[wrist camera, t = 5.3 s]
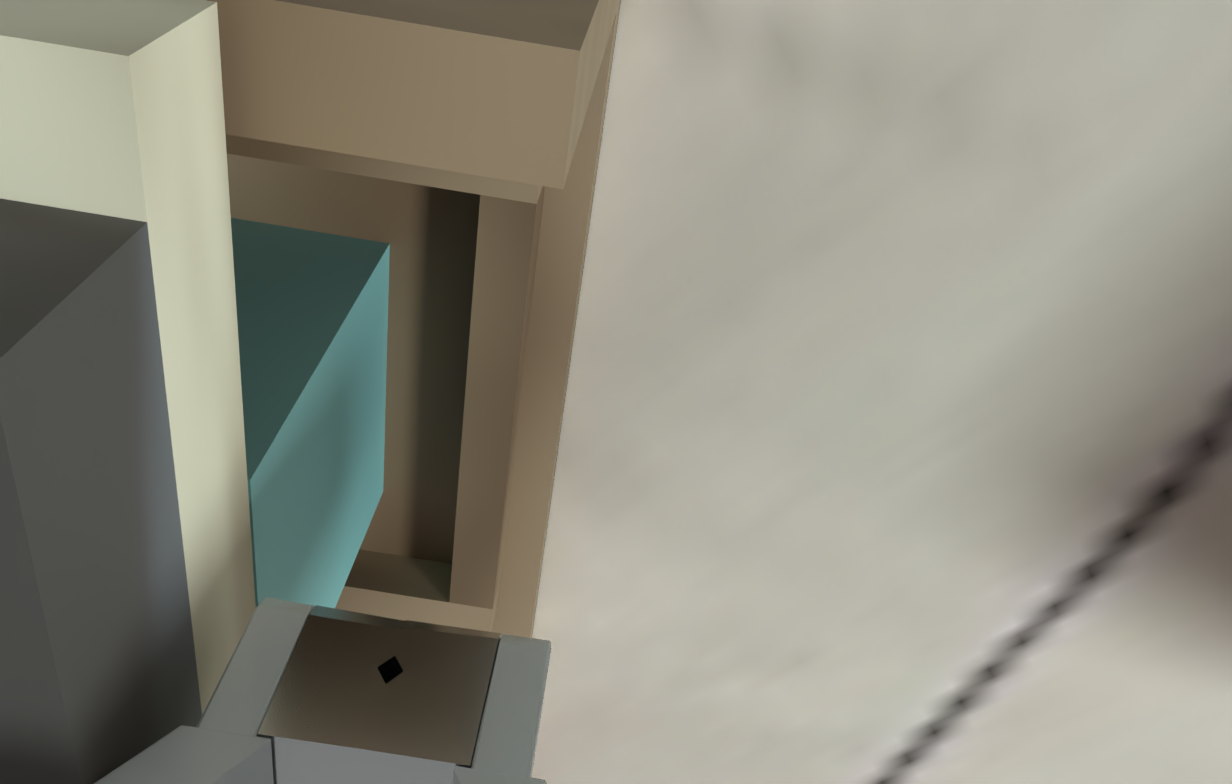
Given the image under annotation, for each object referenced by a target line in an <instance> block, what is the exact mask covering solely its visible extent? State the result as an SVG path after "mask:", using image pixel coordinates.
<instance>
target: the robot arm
mask: <svg viewBox="0 0 1232 784" xmlns="http://www.w3.org/2000/svg"><path fill="white" fill-rule="evenodd" d="M550 653H551V642H550V641H547V640H541V639H534V638H527V637H520V636H513V635H506V634H502V637H501V633H495V632H488V631H481V630H474V629H467V628H459V627H452V626H445V625H438V624H431V623H424V622H417V621H410V620H406V621H403V620H397V619H391V618H386V617H380V616H375V615H369V614H363V613H358V612H352V611H347V610H341V609H335V608H330V607H324V606H318V605H316V606H314V605H309V604H303V603H297V602H291V601H286V600H280V599H274V598H268V597H266V598H265V599H264V600H263V601H262V602H261V603H260V604H259V605H258V606H257V607H256V608H255V610H254V612H253V614H252V616H251V618H250V620H249V622H248V624H247V626H246V628H245V630H244V632H243V634H242V636H241V638H240V640H239V642H238V644H237V646H236V648H235V650H234V652H233V654H232V656H231V658H230V660H229V662H228V664H227V666H226V668H225V670H224V672H223V674H222V676H221V678H220V680H219V682H218V684H217V686H216V688H215V690H214V692H213V694H212V696H211V698H210V700H209V702H208V704H207V706H206V709H205V711H204V713H203V715H202V717H201V719H200V721H199V723H198V725H197V727H191V726H183V725H181V726H179V727H178V728H176V729H175V730H173V731H172V732H170V733H169V734H167V735H166V736H164V737H163V738H161V739H160V740H158V741H157V742H155V743H154V744H152V745H151V746H149V747H148V748H146V749H145V750H143V751H142V752H140V753H139V754H137V755H136V756H134V757H133V758H131V759H130V760H128V761H127V762H125V763H124V764H122V765H121V766H119V767H118V768H116V769H115V770H113V771H112V772H110V773H109V774H107V775H106V776H104V777H103V778H101V779H100V780H98V781H97V782H95V783H94V784H547V783H546V781H545V780H543V779H537V778H532V771H533V765H534V758H535V751H536V745H537V738H538V732H539V725H540V719H541V712H542V705H543V699H544V692H545V686H546V679H547V672H548V666H549V659H550Z"/></svg>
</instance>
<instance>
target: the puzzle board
mask: <svg viewBox="0 0 1232 784" xmlns="http://www.w3.org/2000/svg"><path fill="white" fill-rule="evenodd" d="M207 1H213V2H217V10H218V26H219V41H220V57H221V73H222V88H223V104H224V120H225V135H226V151H227V167H228V182H229V198H230V214H231V218H236V219H242V220H248V221H255V222H261V223H267V224H273V225H279V226H285V227H292V228H298V229H304V230H310V231H316V232H322V233H329V234H335V235H341V236H347V237H353V238H359V239H366V240H372V241H378V242H384V243H390V255H389V293H388V331H387V369H386V406H385V444H384V482H383V493H382V496H381V498H380V501H379V503H378V505H377V508H376V510H375V513H374V515H373V517H372V520H371V522H370V525H369V527H368V530H367V532H366V534H365V537H364V539H363V542H362V544H361V546H360V549H359V551H358V554H357V556H356V559H355V561H354V563H353V566H352V568H351V571H350V573H349V576H348V578H347V580H346V583H345V585H344V588H343V590H342V592H341V595H340V597H339V600H338V602H337V605H336V607H335V609H341V610H347V611H352V612H358V613H363V614H369V615H375V616H380V617H386V618H391V619H397V620H403V621H406V620H410V621H417V622H424V623H431V624H438V625H445V626H452V627H459V628H467V629H474V630H481V631H488V632H495V633H501V637H502V634H506V635H513V636H520V637H527V638H532V633H533V626H534V619H535V612H536V604H537V597H538V590H539V583H540V576H541V569H542V561H543V554H544V547H545V540H546V533H547V526H548V518H549V511H550V504H551V497H552V490H553V483H554V476H555V468H556V461H557V454H558V447H559V440H560V433H561V425H562V418H563V411H564V404H565V397H566V390H567V382H568V375H569V368H570V361H571V354H572V347H573V339H574V332H575V325H576V318H577V311H578V304H579V296H580V289H581V282H582V275H583V268H584V261H585V253H586V246H587V239H588V232H589V225H590V218H591V211H592V203H593V196H594V189H595V182H596V175H597V168H598V160H599V153H600V146H601V139H602V132H603V125H604V117H605V110H606V103H607V96H608V89H609V82H610V74H611V67H612V60H613V53H614V46H615V39H616V31H617V24H618V17H619V10H620V3H621V0H207Z"/></svg>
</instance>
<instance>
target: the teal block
mask: <svg viewBox="0 0 1232 784" xmlns="http://www.w3.org/2000/svg"><path fill="white" fill-rule="evenodd" d="M231 229H232V245H233V261H234V276H235V292H236V308H237V323H238V339H239V355H240V370H241V386H242V402H243V417H244V433H245V449H246V464H247V480H248V496H249V511H250V527H251V543H252V558H253V574H254V590H255V605H256V607H257V606H258V605H259V604H260V603H261V602H262V601H263V600H264V599H265V598H266V597H268V598H274V599H280V600H286V601H291V602H297V603H303V604H309V605H314V606H316V605H318V606H324V607H330V608H335V607H336V605H337V602H338V600H339V597H340V595H341V592H342V590H343V588H344V585H345V583H346V580H347V578H348V576H349V573H350V571H351V568H352V566H353V563H354V561H355V559H356V556H357V554H358V551H359V549H360V546H361V544H362V542H363V539H364V537H365V534H366V532H367V530H368V527H369V525H370V522H371V520H372V517H373V515H374V513H375V510H376V508H377V505H378V503H379V501H380V498H381V496H382V493H383V482H384V444H385V406H386V369H387V331H388V293H389V255H390V243H384V242H378V241H372V240H366V239H359V238H353V237H347V236H341V235H335V234H329V233H322V232H316V231H310V230H304V229H298V228H292V227H285V226H279V225H273V224H267V223H261V222H255V221H248V220H242V219H236V218H231Z"/></svg>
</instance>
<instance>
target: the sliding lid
mask: <svg viewBox="0 0 1232 784" xmlns="http://www.w3.org/2000/svg"><path fill="white" fill-rule="evenodd" d="M255 608H256V605H255V590H254V574H253V558H252V543H251V527H250V511H249V496H248V480H247V464H246V449H245V433H244V417H243V402H242V386H241V370H240V355H239V339H238V323H237V308H236V292H235V276H234V261H233V245H232V229H231V214H230V198H229V182H228V167H227V151H226V135H225V120H224V104H223V88H222V73H221V57H220V41H219V26H218V10H217V2H213V1H207V0H0V784H94V783H95V782H97V781H98V780H100V779H101V778H103V777H104V776H106V775H107V774H109V773H110V772H112V771H113V770H115V769H116V768H118V767H119V766H121V765H122V764H124V763H125V762H127V761H128V760H130V759H131V758H133V757H134V756H136V755H137V754H139V753H140V752H142V751H143V750H145V749H146V748H148V747H149V746H151V745H152V744H154V743H155V742H157V741H158V740H160V739H161V738H163V737H164V736H166V735H167V734H169V733H170V732H172V731H173V730H175V729H176V728H178V727H179V726H181V725H183V726H191V727H197V725H198V723H199V721H200V719H201V717H202V715H203V713H204V711H205V709H206V706H207V704H208V702H209V700H210V698H211V696H212V694H213V692H214V690H215V688H216V686H217V684H218V682H219V680H220V678H221V676H222V674H223V672H224V670H225V668H226V666H227V664H228V662H229V660H230V658H231V656H232V654H233V652H234V650H235V648H236V646H237V644H238V642H239V640H240V638H241V636H242V634H243V632H244V630H245V628H246V626H247V624H248V622H249V620H250V618H251V616H252V614H253V612H254V610H255Z"/></svg>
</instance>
